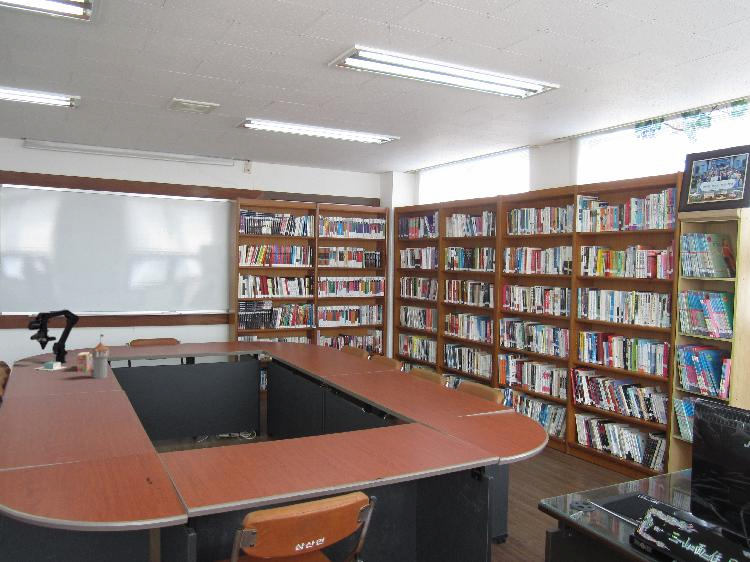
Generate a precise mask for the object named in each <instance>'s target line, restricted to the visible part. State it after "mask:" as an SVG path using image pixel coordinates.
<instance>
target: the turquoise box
mask: <svg viewBox="0 0 750 562" xmlns="http://www.w3.org/2000/svg"><path fill="white" fill-rule="evenodd" d="M43 367H44V368H45V369H56V368H61V367H62V363H61V362H56V361H48V362H44V364H43Z"/></svg>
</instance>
